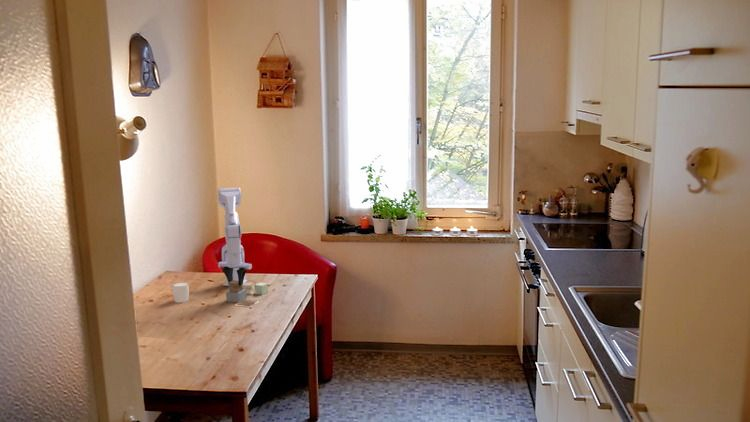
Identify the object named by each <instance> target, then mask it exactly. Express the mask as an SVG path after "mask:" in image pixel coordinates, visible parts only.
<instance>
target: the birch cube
mask: <svg viewBox="0 0 750 422" xmlns="http://www.w3.org/2000/svg"><path fill="white" fill-rule="evenodd" d="M242 287H243V289H246V291H247V295H252V294H253V292H255V289H254V282H248V281H247V282H244V283H243V285H242Z"/></svg>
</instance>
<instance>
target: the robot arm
mask: <svg viewBox="0 0 750 422" xmlns="http://www.w3.org/2000/svg"><path fill="white" fill-rule="evenodd" d="M241 191H242V190H241V188H240V187H226V188H225V187H224V188H218V189H217V197H218V199H217V200H218V205H219V206H220V207H222V208H224V211H225V214H224V225H225V226H224V236H225V244H224V245H223V246H222V248H221V261H219V262H217V264H218V266H217V267H218V268H222V272H223V273H224V275H225V282H224V283H222V286H226V287H229V282H231V281H233V280H238V281H239V286H241V285H243V283H244V282H248V279H247V278H246V277H247V276H246V274H247V271H248V270H251V269H253V265H252V263H249V262H247V263H246V262H245V250H244V247H243V245H242V244H241V243H242V241H241V238H242V227H241V223H240V219H239V218H240V217H239V214H238V212H237V211H236V208H237V207H238V206H241V203H242V192H241Z"/></svg>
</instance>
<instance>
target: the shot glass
mask: <svg viewBox="0 0 750 422" xmlns="http://www.w3.org/2000/svg"><path fill="white" fill-rule="evenodd" d="M171 287H172V292H173V293H172V294H173V298H174V302H175V303H177V304H178V303H180V304H182V303H186V302H188V301H189V293H190V289H189V287H190V284H189V283H188V282H186V281H185V282H183V281H182V282H181V281H180V282H176V283H173V284H171Z"/></svg>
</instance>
